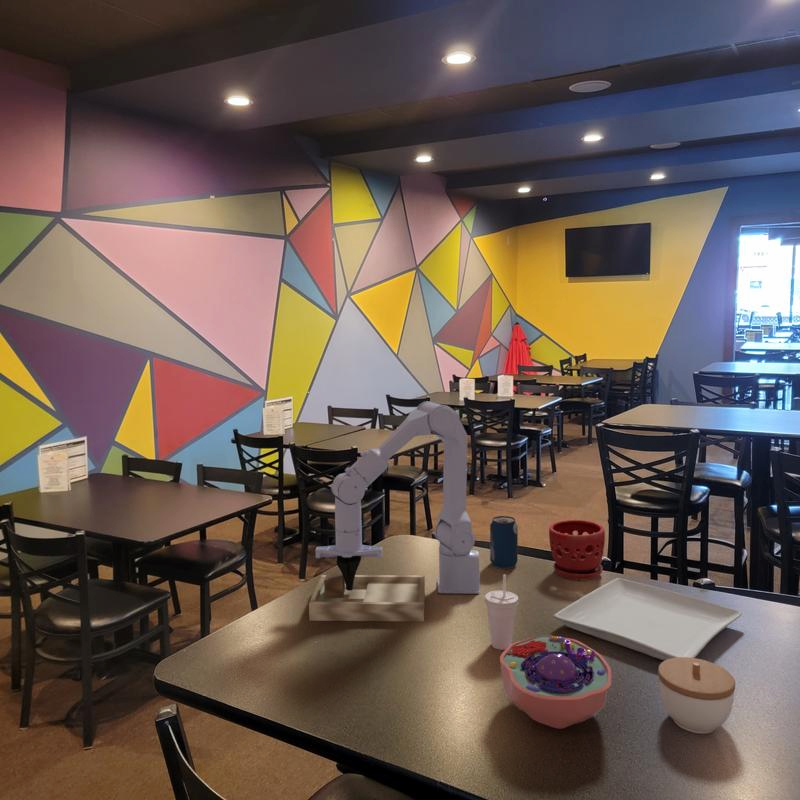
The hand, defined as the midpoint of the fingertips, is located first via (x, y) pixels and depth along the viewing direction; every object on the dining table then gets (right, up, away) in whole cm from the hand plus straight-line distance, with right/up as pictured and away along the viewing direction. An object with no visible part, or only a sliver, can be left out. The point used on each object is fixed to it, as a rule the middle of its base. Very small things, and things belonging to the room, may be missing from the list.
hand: (350, 588), depth 146 cm
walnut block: (-3, -1, 0) cm, 4 cm away
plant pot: (+54, -1, +17) cm, 57 cm away
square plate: (+61, -5, -13) cm, 62 cm away
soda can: (+38, -1, +23) cm, 44 cm away
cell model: (+35, -8, -41) cm, 55 cm away
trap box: (+4, -4, 0) cm, 6 cm away
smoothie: (+30, -6, -19) cm, 36 cm away
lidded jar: (+56, -8, -44) cm, 72 cm away
